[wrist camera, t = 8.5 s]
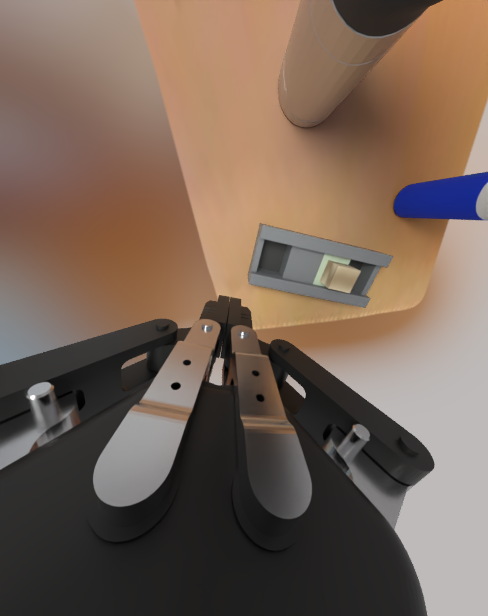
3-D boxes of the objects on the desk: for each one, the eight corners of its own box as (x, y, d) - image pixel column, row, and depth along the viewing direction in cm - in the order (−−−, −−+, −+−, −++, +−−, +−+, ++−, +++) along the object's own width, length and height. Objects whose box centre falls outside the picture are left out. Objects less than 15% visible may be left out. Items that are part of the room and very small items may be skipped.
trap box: (259, 223, 36) (263, 225, 31) (373, 250, 38) (393, 256, 33) (247, 275, 40) (248, 283, 35) (350, 296, 43) (365, 307, 38)
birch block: (328, 260, 35) (338, 265, 31) (348, 265, 35) (361, 271, 32) (319, 280, 37) (328, 288, 33) (339, 285, 37) (349, 293, 34)
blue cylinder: (426, 203, 35) (543, 197, 21) (398, 223, 36) (491, 230, 23) (415, 176, 33) (536, 152, 20) (386, 199, 34) (480, 191, 21)
